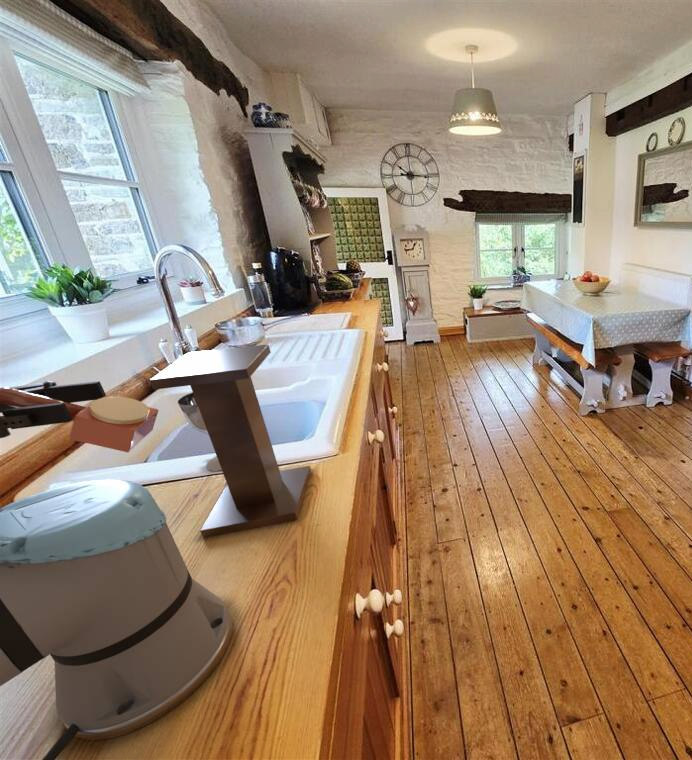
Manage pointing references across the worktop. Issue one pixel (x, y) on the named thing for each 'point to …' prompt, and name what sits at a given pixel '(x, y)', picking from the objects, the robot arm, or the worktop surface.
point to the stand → (238, 439)
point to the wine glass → (196, 422)
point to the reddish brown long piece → (96, 418)
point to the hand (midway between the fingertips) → (85, 400)
